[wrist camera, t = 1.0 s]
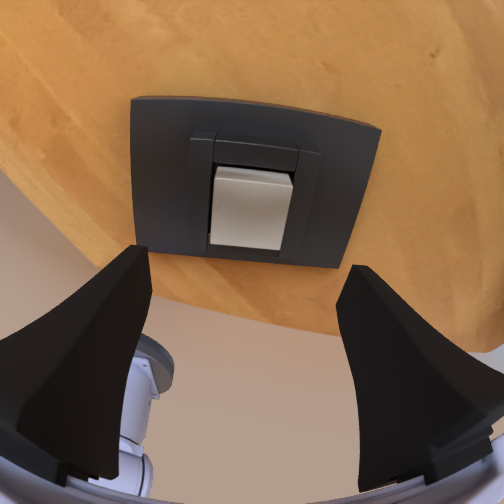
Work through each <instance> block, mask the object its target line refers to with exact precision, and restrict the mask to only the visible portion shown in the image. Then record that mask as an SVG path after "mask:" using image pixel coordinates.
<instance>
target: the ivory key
mask: <svg viewBox="0 0 504 504" xmlns="http://www.w3.org/2000/svg"><path fill="white" fill-rule="evenodd" d="M292 191H293V185H292V183H291V180H290V178H289V175H288V174H285V173H277V172H269V171H261V170H252V169H243V168H233V167H223V166H218V167H217V171H216V175H215V178H214V190H213V204H212V219H211V235H210V244H217V245H228V246H239V247H250V248H260V249H271V250H280V247H281V242H282V238H283V233H284V229H285V224H286V219H287V215H288V210H289V205H290V200H291V196H292Z"/></svg>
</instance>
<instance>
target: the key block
mask: <svg viewBox="0 0 504 504" xmlns="http://www.w3.org/2000/svg"><path fill="white" fill-rule="evenodd" d="M381 131H382V130H381V129H379V128H377V127H375V126H373V125H371V124H368V123H364V122H360V121H356V120H352V119H348V118H344V117H340V116H336V115H331V114H327V113H322V112H317V111H312V110H307V109H302V108H296V107H290V106H284V105H278V104H271V103H263V102H255V101H247V100H237V99H226V98H213V97H195V96H140V97H137V98H133V99H131V112H130V156H131V182H132V199H133V212H134V224H135V234H136V243H137V245H139V246H147V247H148V252H156V253H166V254H177V255H187V256H198V257H209V258H220V259H231V260H242V261H253V262H265V263H276V264H288V265H300V266H312V267H324V268H336V269H339V266H340V264H341V261H342V258H343V255H344V253H345V250H346V247H347V244H348V241H349V239H350V236H351V233H352V230H353V227H354V224H355V221H356V218H357V215H358V212H359V209H360V206H361V202H362V199H363V196H364V193H365V189H366V186H367V183H368V179H369V176H370V172H371V169H372V165H373V162H374V158H375V155H376V151H377V147H378V143H379V139H380V135H381ZM218 166H223V167H233V168H243V169H252V170H261V171H269V172H277V173H285V174H288V175H289V178H290V180H291V183H292V185H293V191H292V196H291V200H290V205H289V210H288V215H287V219H286V224H285V229H284V233H283V238H282V242H281V247H280V250H271V249H260V248H250V247H239V246H228V245H217V244H210V235H211V219H212V204H213V190H214V178H215V175H216V171H217V167H218Z"/></svg>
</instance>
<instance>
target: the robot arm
mask: <svg viewBox="0 0 504 504" xmlns="http://www.w3.org/2000/svg"><path fill="white" fill-rule="evenodd" d="M151 295H152V283H151V275H150V266H149V257H148V247H147V246H139V245H130V246H129V247H128V248H126V249H125V250H124V251H123V252H122V253H120V254H119V255H118V256H117V257H116V258H115V259H114V260H112V261H111V262H110V263H109V264H108V265H107V266H106V267H104V268H103V269H102V270H101V271H100V272H99V273H98V274H97V275H95V276H94V277H93V278H92V279H91V280H89V281H88V282H87V283H86V284H84V285H83V286H82V287H81V288H80V289H78V290H77V291H76V292H75V293H73V294H72V295H71V296H70V297H68V298H67V299H66V300H64V301H63V302H62V303H60V304H59V305H58V306H56V307H55V308H53V309H52V310H51V311H50V312H48V313H46V314H45V315H43V316H42V317H40V318H39V319H37V320H35V321H34V322H32V323H30V324H29V325H27V326H25V327H24V328H22V329H21V330H19V331H17V332H15V333H13V334H11V335H10V336H8V337H6V338H4V339H2V340H0V504H181V503H174V502H168V501H161V500H156V499H150V498H148V496H149V494H150V491H151V488H152V482H153V466H152V463H151V461H150V459H149V457H148V456H147V455H146V454H144V453H143V449H144V447H143V446H140V444H141V443H142V442H143V440H144V438H145V435H146V429H147V423H148V417H149V411H150V406H151V399H159V397H160V396H159V392H158V389H157V386H156V382H155V379H154V376H153V372H152V369H151V365H150V361H149V360H148V359H146V358H141V357H135V356H134V354H135V350H136V347H137V344H138V341H139V338H140V335H141V332H142V329H143V326H144V323H145V320H146V317H147V314H148V309H149V305H150V300H151ZM336 310H337V318H338V324H339V329H340V333H341V337H342V340H343V344H344V347H345V351H346V354H347V358H348V362H349V365H350V369H351V372H352V376H353V380H354V385H355V390H356V398H357V406H358V417H359V430H360V461H359V476H358V488H359V492H360V493H361V492H365V491H369V490H373V489H377V488H381V487H384V486H388V485H391V484H394V483H397V484H395V485H393V486H389V487H386V488H382V489H378V490H375V491H371V492H367V493H363V494H359V495H354V496H350V497H345V498H340V499H334V500H329V501H323V502H316V503H308V504H498V503H499V501H501V500H502V499H503V498H504V433H503V434H501V435H500V436H498V437H497V438H495V439H493V440H492V441H490V439H489V435H491V434H492V433H493V429H492V427H491V425H492V424H494V423H495V422H496V421H498V420H499V419H500V418H502V417H503V416H504V374H503V373H501V372H498V371H497V370H494V369H493V368H490V367H489V366H487V365H485V364H484V363H482V362H480V361H478V360H477V359H475V358H474V357H472V356H471V355H469V354H468V353H466V352H465V351H463V350H462V349H460V348H459V347H458V346H456V345H455V344H453V343H452V342H451V341H449V340H448V339H447V338H446V337H444V336H443V335H442V334H441V333H439V332H438V331H437V330H436V329H435V328H433V327H432V326H431V325H430V324H429V323H428V322H426V321H425V320H424V319H423V318H422V317H421V316H420V315H419V314H418V313H417V312H416V311H415V310H413V309H412V308H411V307H410V306H409V305H408V304H407V303H406V302H405V301H404V300H403V299H402V298H401V297H400V296H399V295H398V294H397V293H396V292H395V291H394V290H393V289H392V288H391V287H390V286H389V285H388V284H387V283H386V282H385V281H384V280H383V279H382V278H381V277H380V276H378V275H377V274H376V273H375V272H374V271H373V270H372V269H371V268H369V267H368V266H364V265H352V267H351V270H350V272H349V275H348V277H347V280H346V282H345V284H344V287H343V289H342V292H341V294H340V296H339V299H338V301H337V303H336Z"/></svg>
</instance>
